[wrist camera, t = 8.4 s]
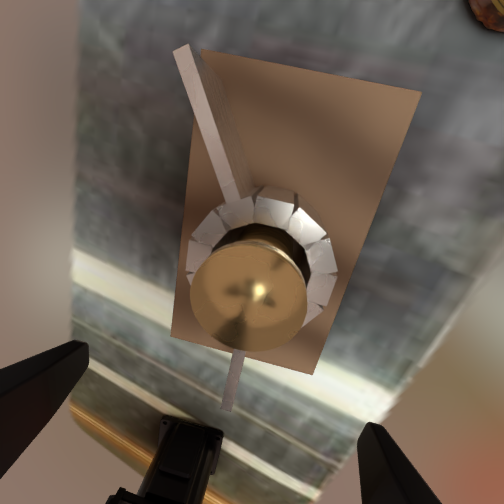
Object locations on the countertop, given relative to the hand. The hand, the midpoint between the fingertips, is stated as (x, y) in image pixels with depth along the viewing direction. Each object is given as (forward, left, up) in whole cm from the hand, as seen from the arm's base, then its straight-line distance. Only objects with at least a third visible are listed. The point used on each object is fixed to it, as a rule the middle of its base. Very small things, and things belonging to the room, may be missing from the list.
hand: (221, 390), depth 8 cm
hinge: (+1, +1, -11) cm, 11 cm away
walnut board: (+2, 0, -12) cm, 12 cm away
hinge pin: (+2, 0, -11) cm, 11 cm away
